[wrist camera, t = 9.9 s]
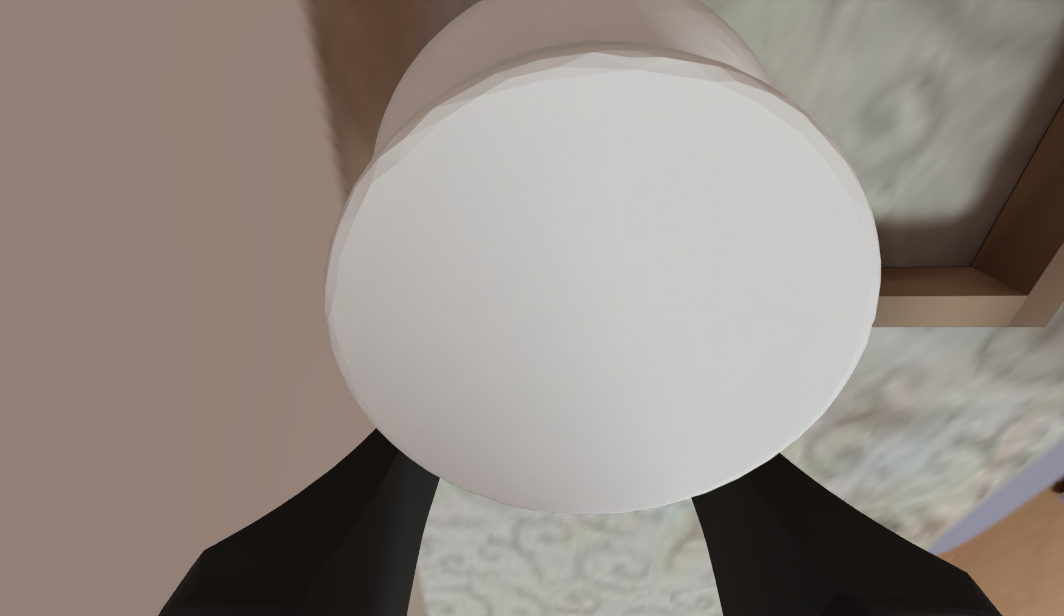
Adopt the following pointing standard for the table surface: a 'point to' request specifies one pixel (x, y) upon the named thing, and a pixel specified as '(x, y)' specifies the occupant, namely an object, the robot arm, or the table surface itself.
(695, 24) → the supplement bottle
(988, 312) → the wooden frame
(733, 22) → the table surface
